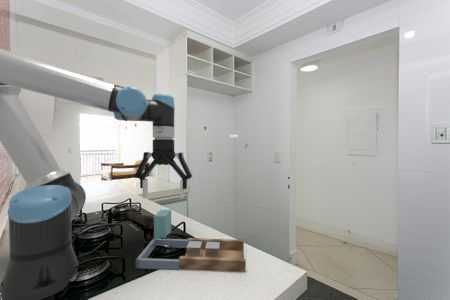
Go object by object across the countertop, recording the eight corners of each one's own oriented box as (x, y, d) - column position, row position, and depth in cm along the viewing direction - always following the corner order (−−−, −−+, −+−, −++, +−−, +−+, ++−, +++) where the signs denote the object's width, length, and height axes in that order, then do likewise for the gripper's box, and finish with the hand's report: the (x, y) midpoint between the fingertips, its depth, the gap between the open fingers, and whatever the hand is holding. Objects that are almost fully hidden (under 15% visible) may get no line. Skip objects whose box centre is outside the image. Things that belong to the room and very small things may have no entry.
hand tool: (125, 219, 97) (125, 209, 97) (134, 217, 100) (134, 207, 100) (147, 232, 85) (147, 220, 84) (156, 228, 88) (156, 217, 88)
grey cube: (186, 260, 62) (186, 247, 62) (189, 253, 66) (189, 240, 66) (199, 261, 62) (200, 247, 62) (201, 254, 66) (202, 241, 66)
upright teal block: (153, 244, 74) (153, 215, 74) (160, 235, 81) (160, 209, 81) (165, 244, 74) (165, 216, 74) (171, 235, 81) (171, 209, 81)
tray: (135, 272, 58) (135, 259, 58) (153, 248, 71) (153, 238, 71) (178, 274, 58) (179, 261, 57) (189, 249, 71) (189, 239, 70)
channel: (179, 273, 58) (179, 258, 58) (188, 250, 70) (188, 237, 70) (245, 276, 57) (245, 261, 57) (243, 252, 70) (243, 239, 69)
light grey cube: (205, 261, 62) (205, 248, 62) (206, 254, 66) (206, 241, 66) (218, 262, 62) (219, 248, 62) (219, 254, 66) (219, 242, 66)
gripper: (124, 138, 73) (124, 199, 74) (196, 139, 72) (196, 201, 73) (134, 138, 80) (134, 194, 81) (199, 139, 79) (199, 195, 80)
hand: (163, 197), depth 77 cm, fingers open, 13 cm apart
